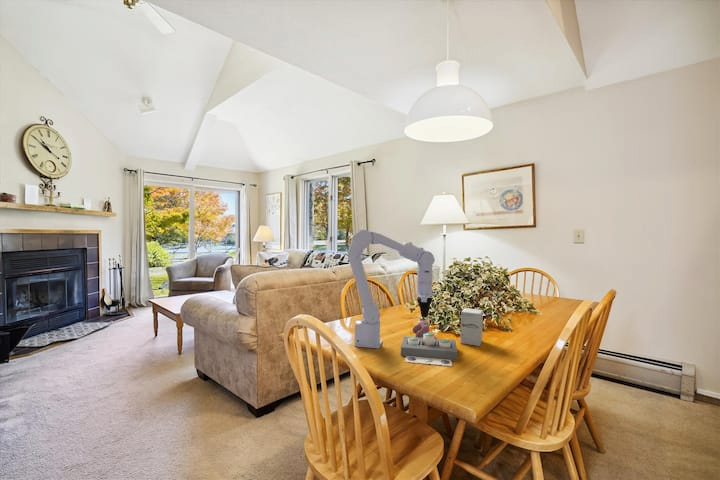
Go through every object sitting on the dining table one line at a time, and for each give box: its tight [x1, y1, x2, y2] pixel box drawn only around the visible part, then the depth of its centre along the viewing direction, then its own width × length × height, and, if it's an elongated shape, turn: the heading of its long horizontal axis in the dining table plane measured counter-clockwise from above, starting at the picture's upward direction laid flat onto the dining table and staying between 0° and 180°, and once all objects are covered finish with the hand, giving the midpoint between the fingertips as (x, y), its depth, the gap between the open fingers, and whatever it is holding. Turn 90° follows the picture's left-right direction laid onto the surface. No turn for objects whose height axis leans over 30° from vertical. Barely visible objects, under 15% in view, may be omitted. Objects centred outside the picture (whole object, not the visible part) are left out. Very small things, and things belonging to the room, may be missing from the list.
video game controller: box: [412, 320, 431, 338], centre depth 138 cm, size 10×5×7 cm, turn 179°
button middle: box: [422, 332, 436, 346], centre depth 118 cm, size 4×4×4 cm
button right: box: [439, 338, 451, 348], centre depth 117 cm, size 4×4×4 cm
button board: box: [400, 336, 458, 362], centre depth 119 cm, size 19×12×3 cm, turn 77°
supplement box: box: [459, 307, 484, 347], centre depth 129 cm, size 7×7×13 cm
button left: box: [408, 336, 419, 345], centre depth 120 cm, size 4×4×4 cm
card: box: [404, 356, 453, 368], centre depth 110 cm, size 15×5×1 cm, turn 77°
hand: (424, 316), depth 127 cm, fingers closed
